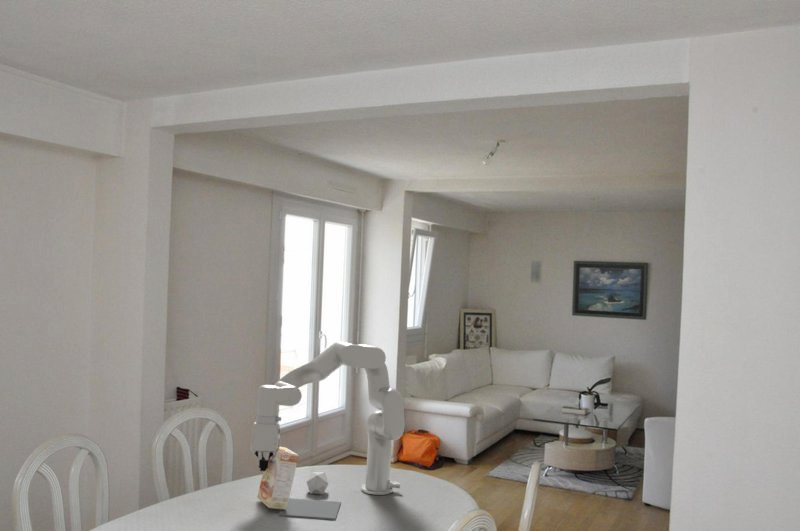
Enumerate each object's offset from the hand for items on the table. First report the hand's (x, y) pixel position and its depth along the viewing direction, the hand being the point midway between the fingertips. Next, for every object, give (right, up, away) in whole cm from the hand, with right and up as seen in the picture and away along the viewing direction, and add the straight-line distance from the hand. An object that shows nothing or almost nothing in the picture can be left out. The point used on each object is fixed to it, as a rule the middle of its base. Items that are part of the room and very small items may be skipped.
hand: (263, 470), depth 256 cm
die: (+17, -15, +19) cm, 30 cm away
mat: (+17, -14, -1) cm, 22 cm away
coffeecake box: (+3, -12, 0) cm, 13 cm away
